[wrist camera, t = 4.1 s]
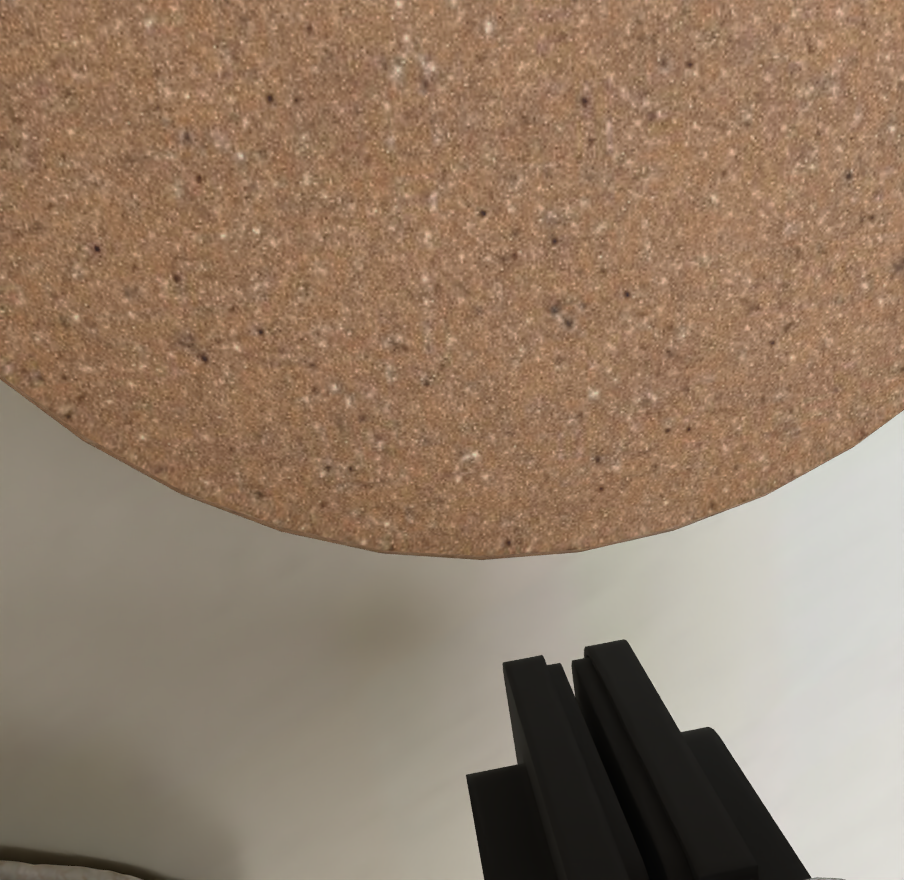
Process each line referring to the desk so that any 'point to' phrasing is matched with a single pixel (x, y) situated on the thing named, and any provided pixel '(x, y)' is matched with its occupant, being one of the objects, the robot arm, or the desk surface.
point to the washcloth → (56, 872)
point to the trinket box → (456, 255)
